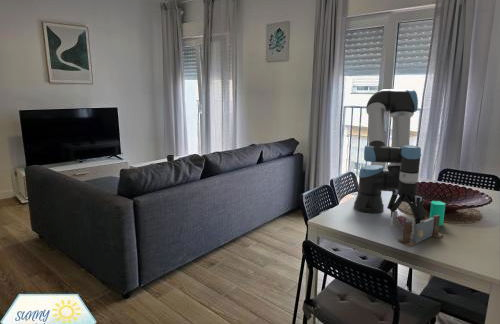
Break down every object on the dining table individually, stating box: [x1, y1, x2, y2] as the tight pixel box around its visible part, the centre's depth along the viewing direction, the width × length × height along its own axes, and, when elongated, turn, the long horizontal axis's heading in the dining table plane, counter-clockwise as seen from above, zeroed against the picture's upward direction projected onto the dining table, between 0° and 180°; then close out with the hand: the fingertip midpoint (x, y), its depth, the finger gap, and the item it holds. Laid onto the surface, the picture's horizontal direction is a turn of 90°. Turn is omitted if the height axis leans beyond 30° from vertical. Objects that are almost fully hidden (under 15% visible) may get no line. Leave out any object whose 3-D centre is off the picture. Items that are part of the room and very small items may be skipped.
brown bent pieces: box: [397, 215, 444, 248], centre depth 143 cm, size 6×21×9 cm, turn 116°
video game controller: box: [396, 214, 413, 233], centre depth 150 cm, size 10×5×7 cm, turn 0°
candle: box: [429, 200, 447, 227], centre depth 159 cm, size 6×6×12 cm
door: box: [412, 217, 435, 245], centre depth 142 cm, size 2×14×8 cm, turn 126°
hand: (403, 229), depth 150 cm, fingers closed on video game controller, 10 cm apart
